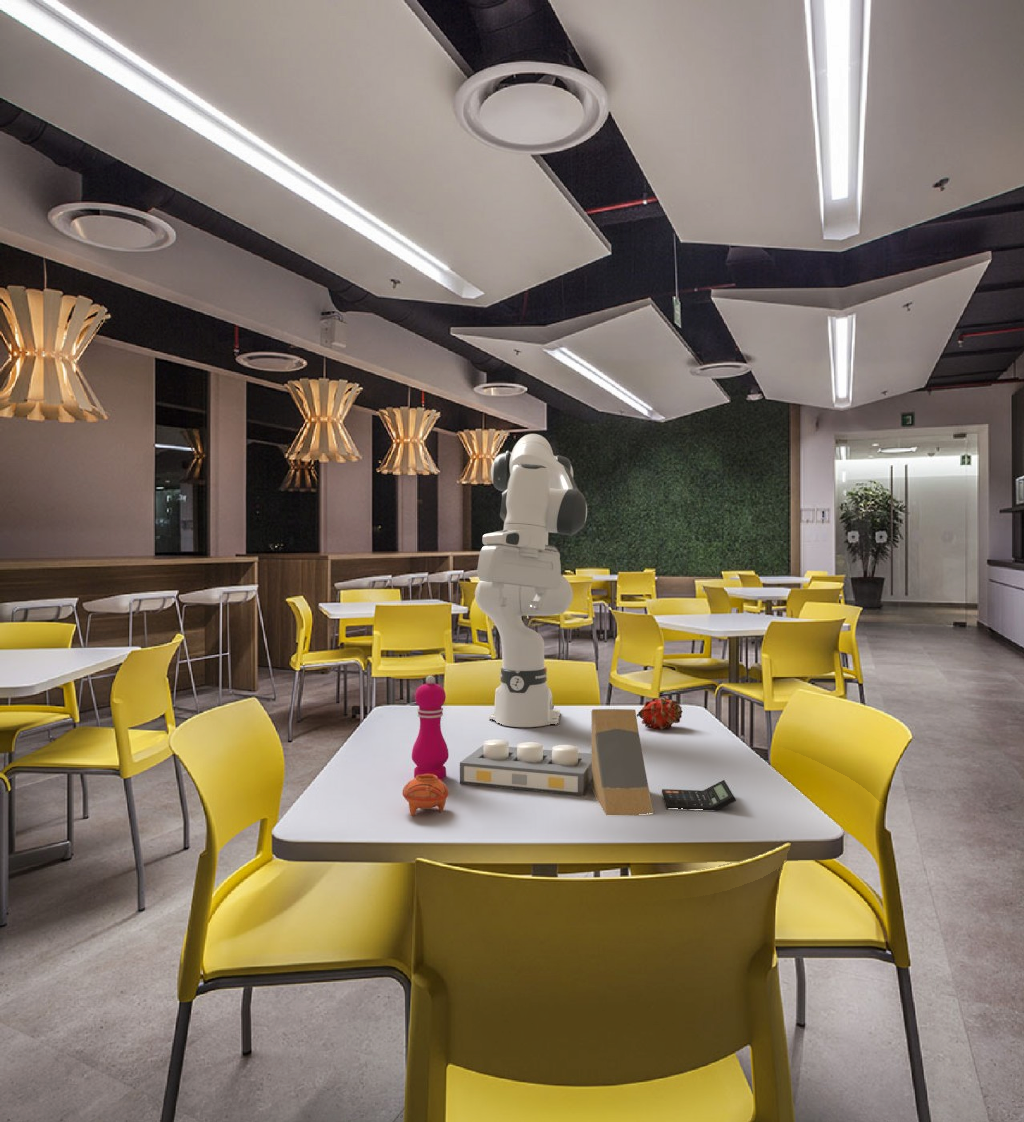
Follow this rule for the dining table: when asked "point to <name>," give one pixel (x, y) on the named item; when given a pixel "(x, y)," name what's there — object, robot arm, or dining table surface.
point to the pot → (425, 793)
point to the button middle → (530, 752)
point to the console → (527, 773)
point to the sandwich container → (618, 763)
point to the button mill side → (496, 749)
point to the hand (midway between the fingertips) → (517, 608)
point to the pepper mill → (430, 731)
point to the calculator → (699, 797)
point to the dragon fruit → (660, 713)
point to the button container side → (565, 755)
